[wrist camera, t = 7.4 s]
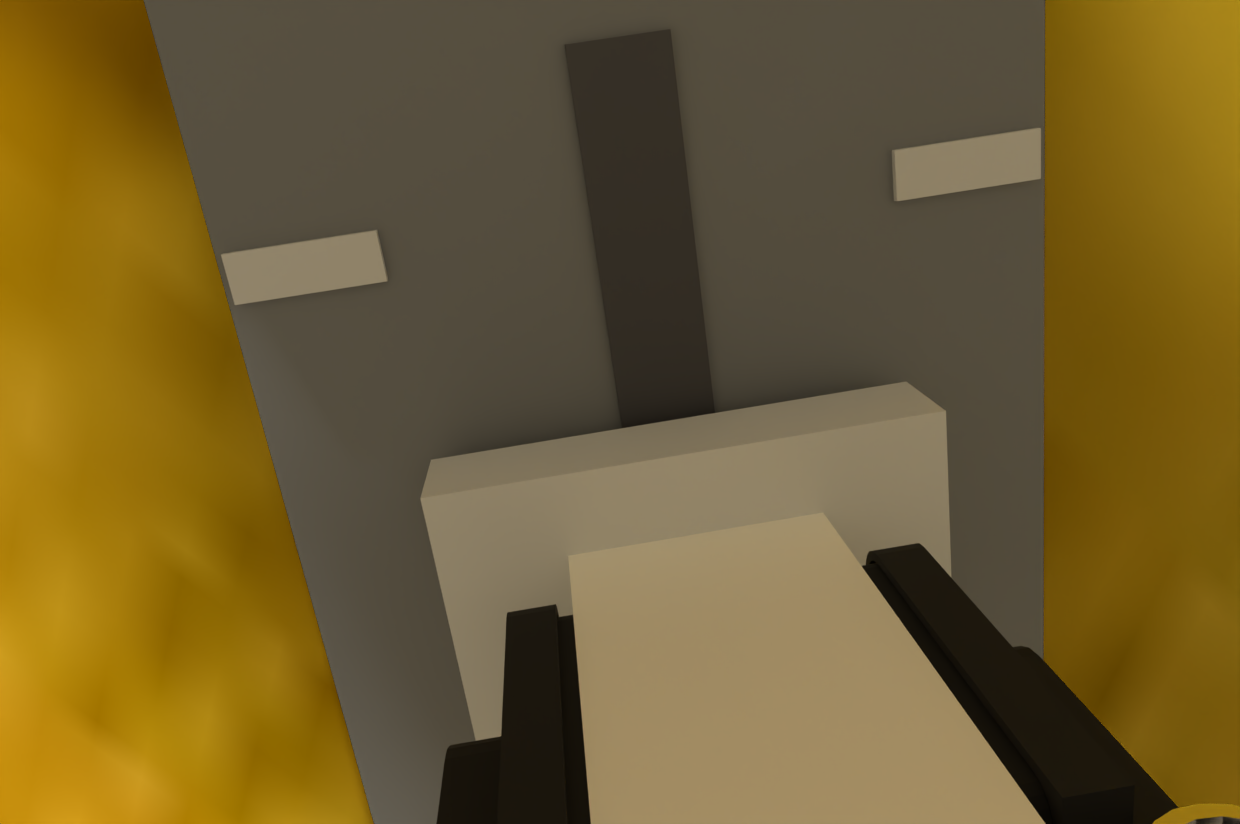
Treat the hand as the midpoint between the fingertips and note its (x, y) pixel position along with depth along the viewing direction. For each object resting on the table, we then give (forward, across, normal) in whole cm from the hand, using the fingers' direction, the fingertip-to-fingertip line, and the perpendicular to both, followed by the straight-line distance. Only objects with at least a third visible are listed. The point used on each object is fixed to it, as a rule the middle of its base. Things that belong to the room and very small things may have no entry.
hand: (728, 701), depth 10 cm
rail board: (+5, 0, +4) cm, 6 cm away
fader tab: (+2, 0, 0) cm, 2 cm away
